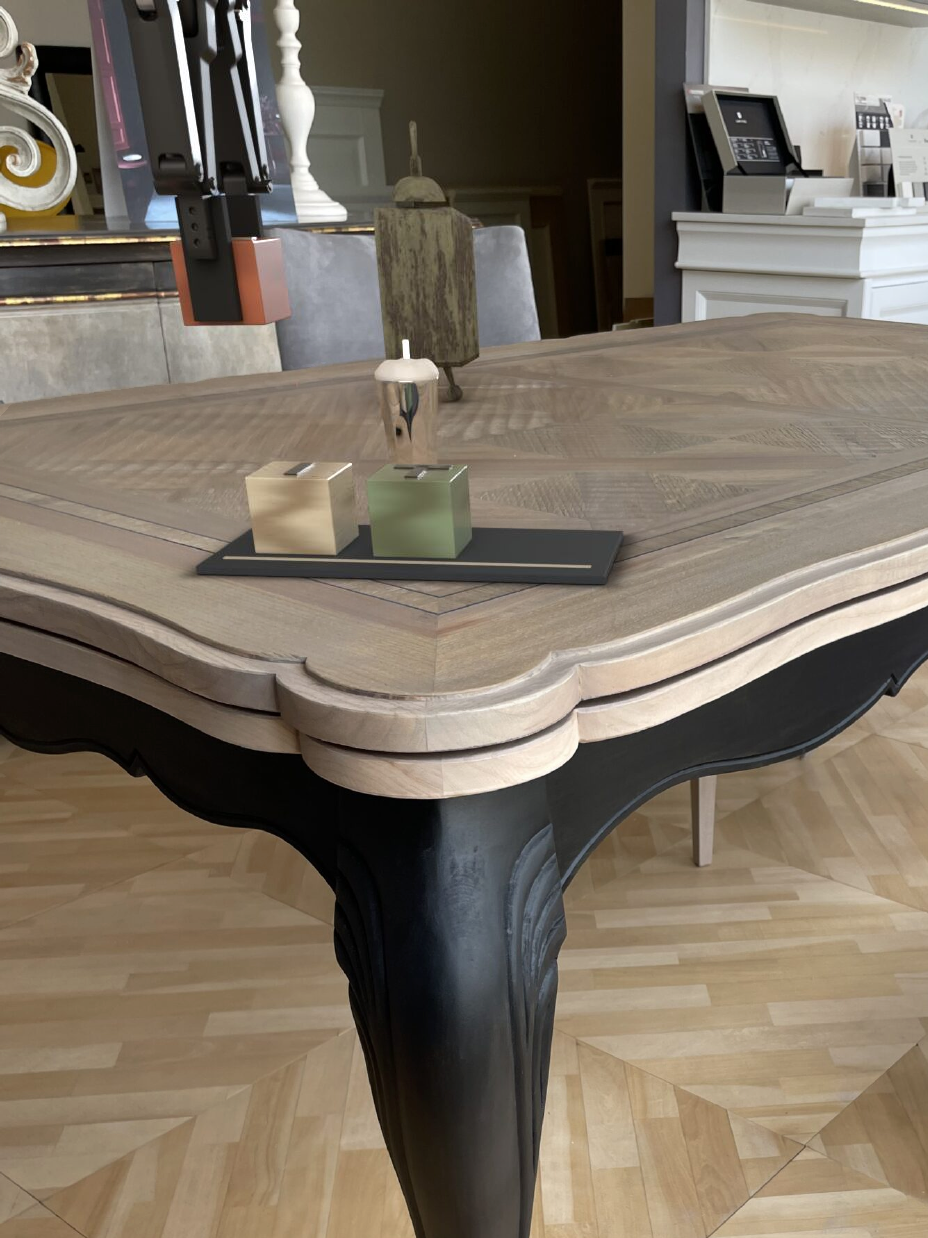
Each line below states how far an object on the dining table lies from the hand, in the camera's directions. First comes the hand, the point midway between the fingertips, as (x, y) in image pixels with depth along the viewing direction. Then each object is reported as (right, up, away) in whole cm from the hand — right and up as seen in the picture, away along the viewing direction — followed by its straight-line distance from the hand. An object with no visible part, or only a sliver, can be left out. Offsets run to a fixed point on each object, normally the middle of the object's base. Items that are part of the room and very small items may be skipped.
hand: (235, 315), depth 80 cm
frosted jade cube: (+11, -14, 0) cm, 18 cm away
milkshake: (+8, -5, +18) cm, 20 cm away
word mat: (+11, -14, +1) cm, 18 cm away
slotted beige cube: (+4, -14, +1) cm, 14 cm away
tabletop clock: (+2, +15, +55) cm, 58 cm away
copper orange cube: (0, 0, 0) cm, 0 cm away
